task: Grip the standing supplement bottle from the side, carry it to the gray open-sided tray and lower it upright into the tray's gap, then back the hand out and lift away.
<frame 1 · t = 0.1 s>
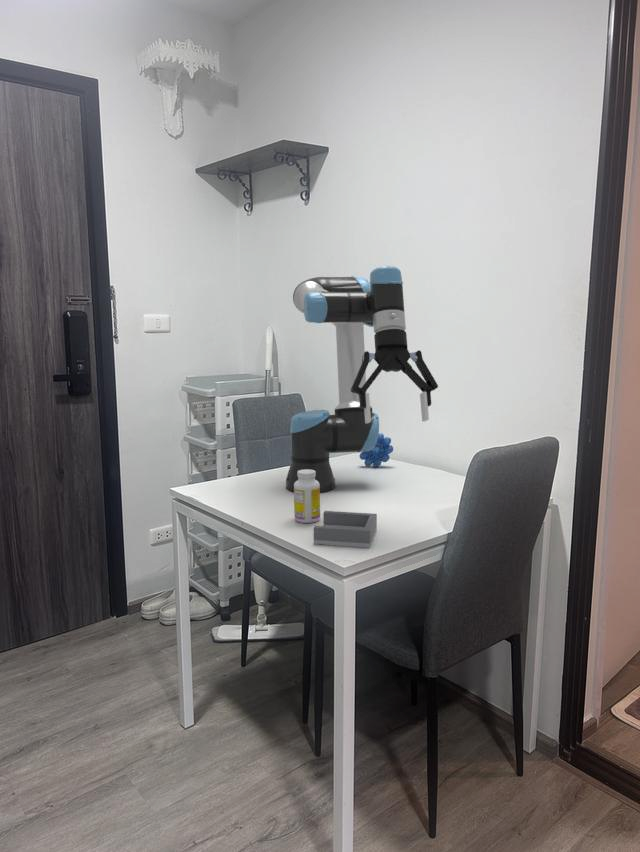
hand: (397, 421, 148), 28 cm above the table, tool tilted 20°, fingers open, 13 cm apart
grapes: (376, 467, 224), on the table
supplement bottle: (307, 520, 166), on the table
gray open-sided tray: (344, 536, 153), on the table
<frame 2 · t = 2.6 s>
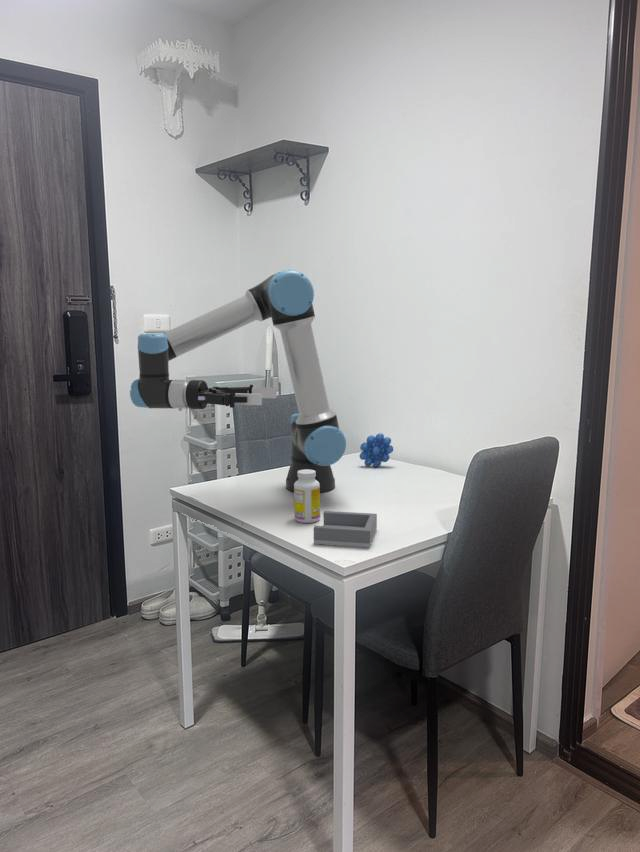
hand: (269, 396, 163), 32 cm above the table, tool horizontal, fingers open, 13 cm apart
nothing on the table moved.
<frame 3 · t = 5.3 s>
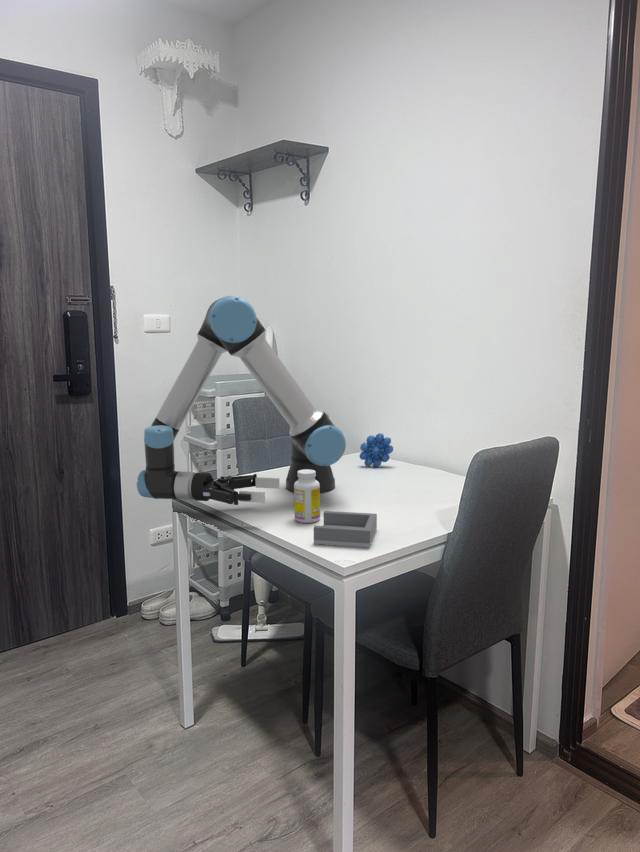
hand: (272, 490, 167), 7 cm above the table, tool horizontal, fingers open, 13 cm apart
nothing on the table moved.
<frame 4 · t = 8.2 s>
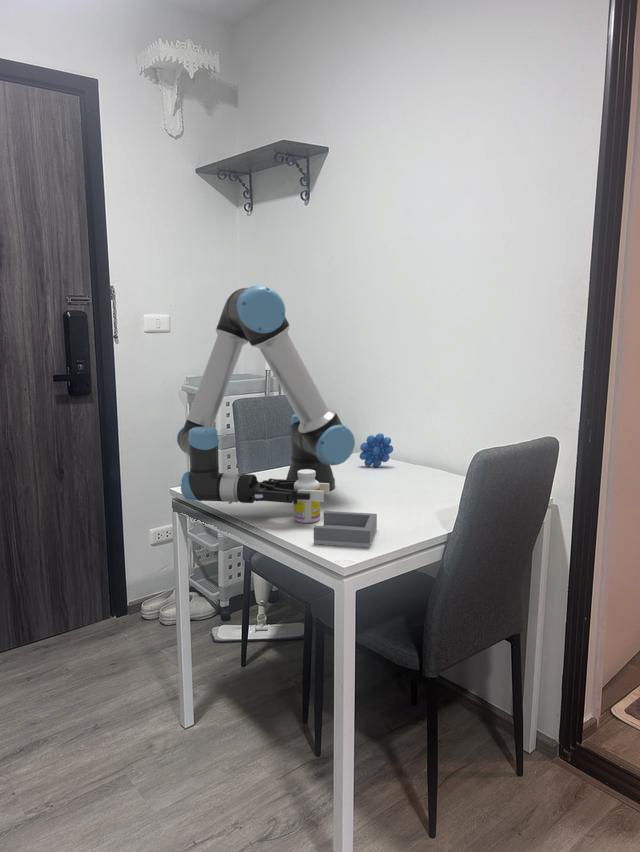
hand: (326, 492, 164), 8 cm above the table, tool horizontal, fingers closed on supplement bottle, 7 cm apart
supplement bottle: (307, 520, 166), on the table, touching gripper
everything else where it was.
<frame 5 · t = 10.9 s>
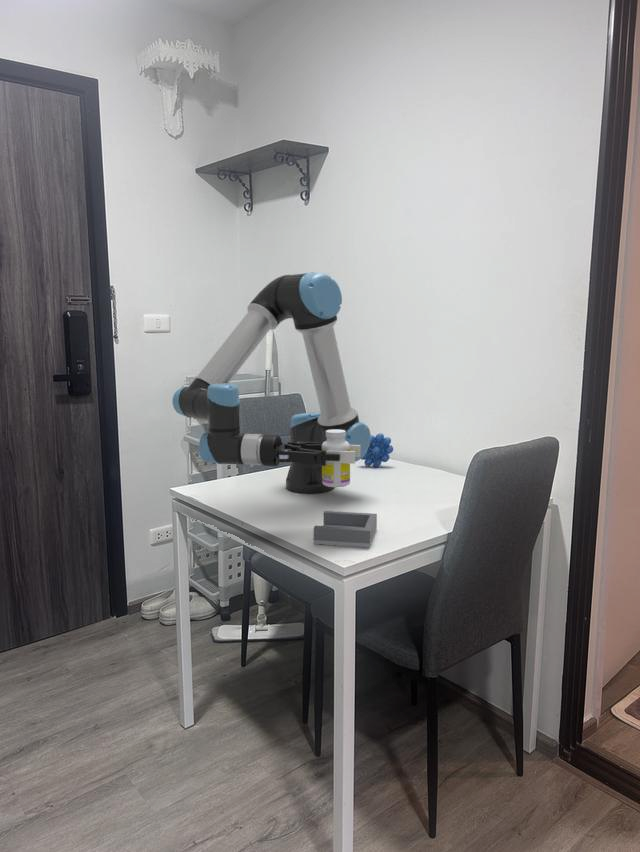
hand: (357, 454, 150), 20 cm above the table, tool horizontal, fingers closed on supplement bottle, 7 cm apart
supplement bottle: (335, 485, 152), point 12 cm above the table, touching gripper
everything else where it was.
when the fingers open (10 cm above the table, at t = 13.4 s): supplement bottle drops 1 cm, resting on gray open-sided tray.
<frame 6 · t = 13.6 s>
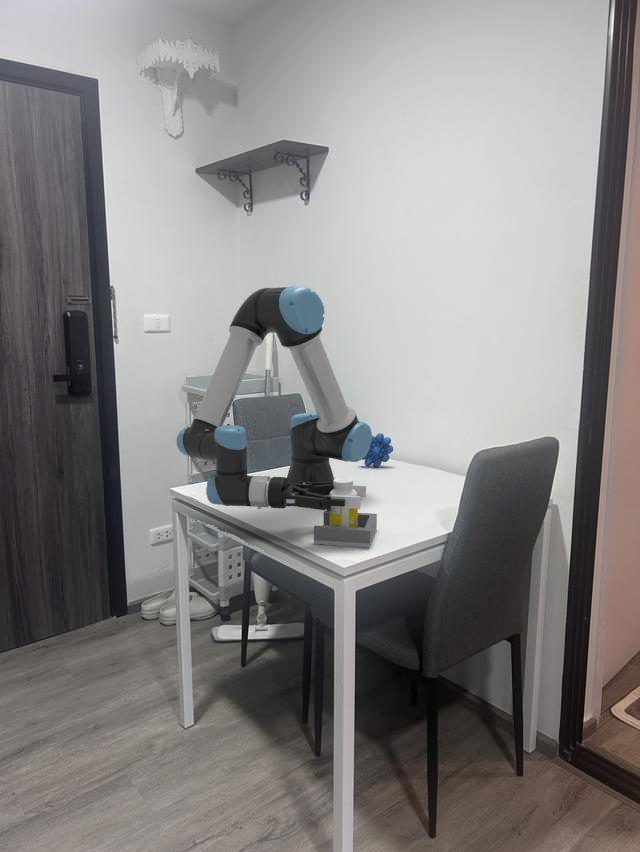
hand: (363, 496, 151), 10 cm above the table, tool horizontal, fingers open, 9 cm apart
supplement bottle: (343, 533, 153), point 1 cm above the table, touching gray open-sided tray
everything else where it was.
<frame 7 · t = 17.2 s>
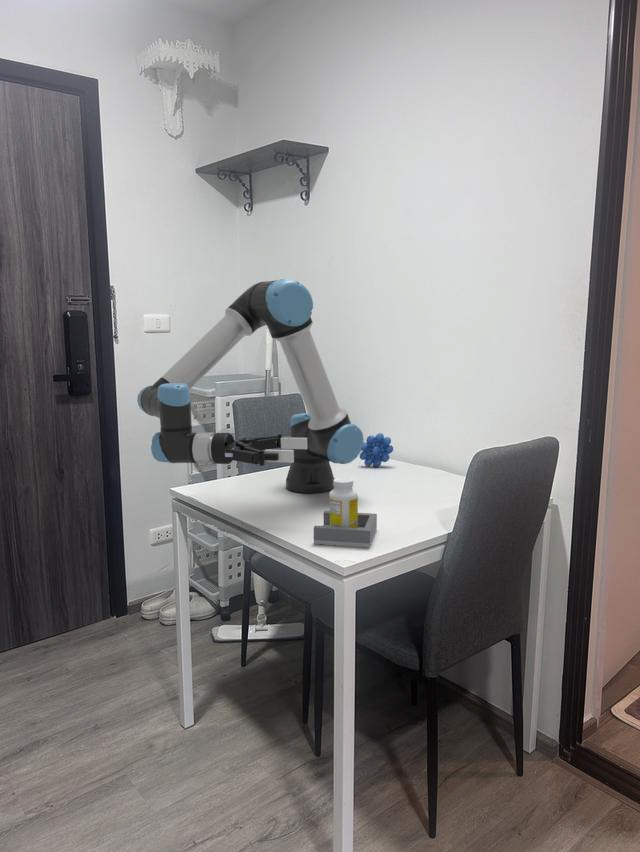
hand: (300, 449, 151), 21 cm above the table, tool horizontal, fingers open, 13 cm apart
nothing on the table moved.
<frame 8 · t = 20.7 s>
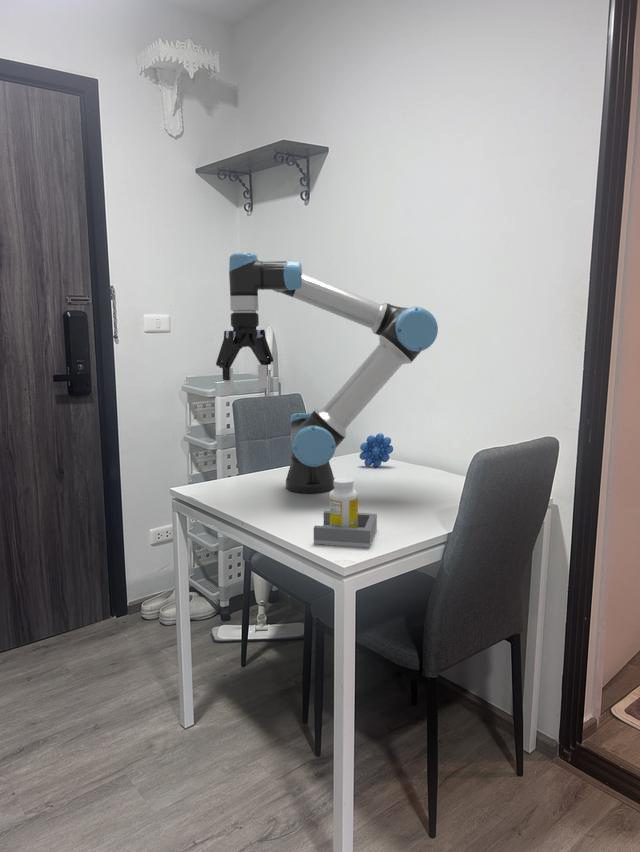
hand: (246, 390, 178), 32 cm above the table, tool pointing down, fingers open, 13 cm apart
nothing on the table moved.
at the end: supplement bottle 0.2 cm off-centre on the gray open-sided tray, point 0.8 cm above the gray open-sided tray's base; supplement bottle tilted 0°; the gripper is holding nothing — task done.
